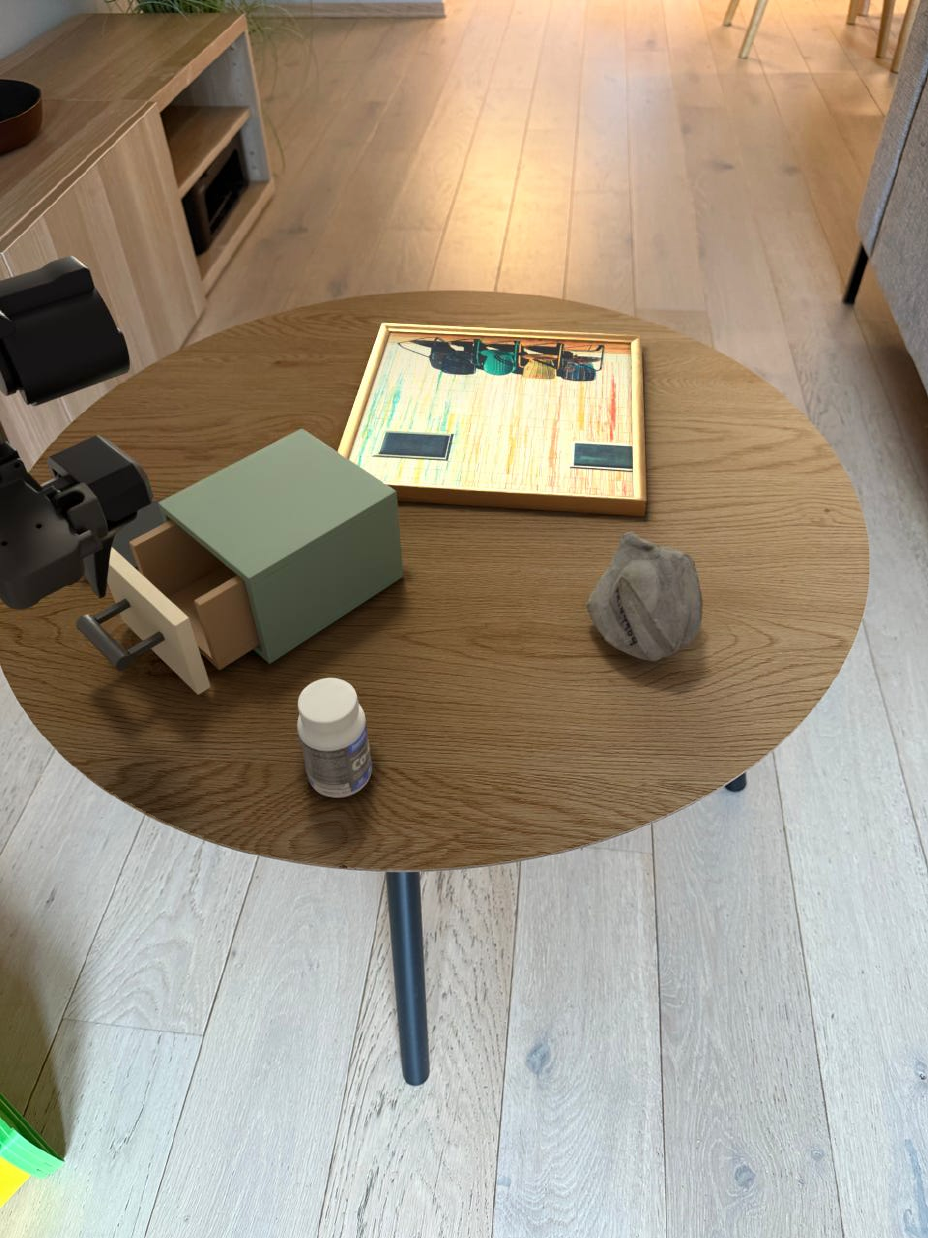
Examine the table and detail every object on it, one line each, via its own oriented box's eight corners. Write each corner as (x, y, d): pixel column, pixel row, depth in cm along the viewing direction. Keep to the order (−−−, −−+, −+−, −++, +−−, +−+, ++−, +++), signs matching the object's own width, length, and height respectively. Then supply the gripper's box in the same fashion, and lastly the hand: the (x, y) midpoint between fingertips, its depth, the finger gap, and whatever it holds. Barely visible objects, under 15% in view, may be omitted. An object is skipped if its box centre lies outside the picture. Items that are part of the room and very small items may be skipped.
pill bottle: (369, 800, 67) (358, 728, 61) (304, 799, 68) (286, 727, 62) (375, 746, 71) (365, 672, 65) (312, 745, 71) (297, 672, 65)
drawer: (150, 725, 71) (122, 657, 66) (76, 646, 77) (44, 577, 71) (333, 607, 80) (322, 537, 74) (254, 544, 85) (238, 475, 80)
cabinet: (269, 664, 77) (248, 578, 70) (184, 588, 83) (157, 502, 76) (403, 576, 84) (396, 490, 77) (315, 512, 90) (301, 427, 83)
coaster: (88, 581, 84) (86, 576, 83) (86, 518, 90) (84, 513, 89) (191, 561, 85) (189, 556, 85) (182, 500, 91) (181, 495, 91)
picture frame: (641, 334, 108) (646, 500, 88) (639, 349, 110) (644, 516, 89) (381, 322, 111) (327, 481, 90) (383, 337, 112) (329, 496, 92)
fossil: (561, 602, 81) (568, 531, 75) (650, 570, 84) (662, 499, 78) (632, 692, 74) (645, 621, 68) (726, 654, 77) (747, 583, 71)
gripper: (-178, 586, 43) (-46, 783, 54) (172, 422, 52) (224, 618, 64) (-258, 481, 49) (-123, 679, 60) (71, 349, 58) (135, 542, 69)
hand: (37, 628), depth 63 cm, fingers open, 9 cm apart
